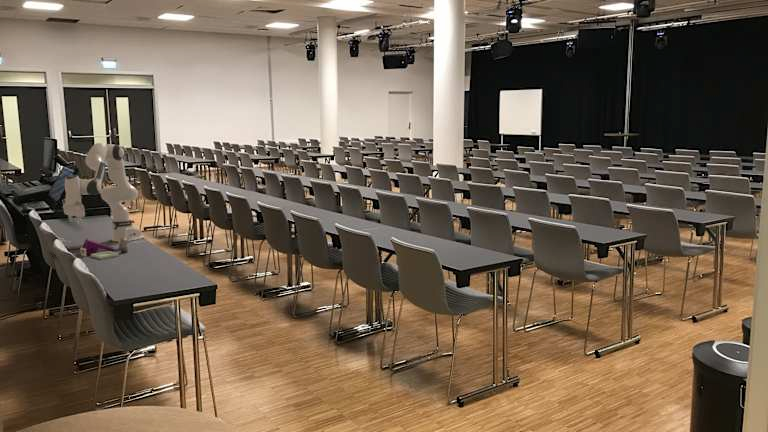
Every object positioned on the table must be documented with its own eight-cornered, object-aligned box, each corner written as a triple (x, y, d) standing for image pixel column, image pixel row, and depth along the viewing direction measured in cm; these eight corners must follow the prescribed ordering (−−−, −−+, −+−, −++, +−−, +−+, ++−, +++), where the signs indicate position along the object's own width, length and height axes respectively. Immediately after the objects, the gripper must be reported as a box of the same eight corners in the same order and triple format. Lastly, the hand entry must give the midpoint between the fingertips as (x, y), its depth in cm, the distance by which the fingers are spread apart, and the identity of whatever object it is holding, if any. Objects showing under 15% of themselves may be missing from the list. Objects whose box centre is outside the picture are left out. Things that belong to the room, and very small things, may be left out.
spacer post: (125, 251, 423) (124, 238, 422) (128, 252, 421) (127, 239, 419) (119, 252, 420) (118, 239, 419) (123, 253, 418) (122, 240, 416)
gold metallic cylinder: (124, 247, 436) (123, 237, 434) (127, 248, 433) (127, 238, 432) (117, 248, 432) (117, 238, 431) (121, 249, 429) (120, 239, 428)
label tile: (81, 255, 413) (81, 247, 412) (86, 256, 409) (86, 248, 408) (80, 255, 412) (80, 247, 412) (85, 256, 409) (85, 248, 408)
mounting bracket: (108, 258, 429) (80, 250, 419) (113, 247, 429) (86, 238, 420) (110, 261, 421) (82, 252, 411) (115, 249, 421) (87, 240, 412)
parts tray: (108, 253, 417) (108, 250, 417) (118, 256, 410) (118, 253, 410) (90, 256, 408) (90, 254, 408) (100, 259, 401) (100, 256, 400)
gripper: (86, 202, 398) (88, 223, 400) (70, 199, 411) (72, 220, 413) (76, 203, 393) (78, 225, 395) (60, 200, 406) (62, 221, 408)
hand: (75, 222), depth 404 cm, fingers open, 8 cm apart
